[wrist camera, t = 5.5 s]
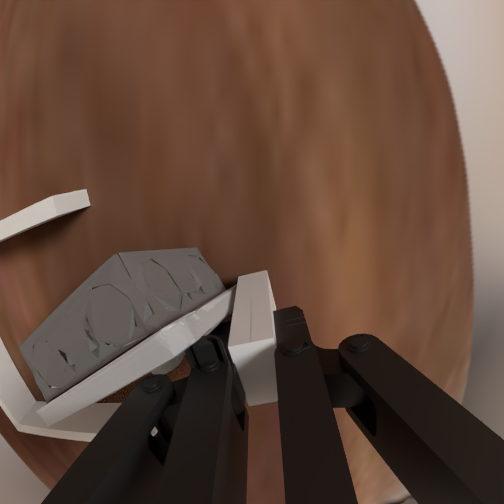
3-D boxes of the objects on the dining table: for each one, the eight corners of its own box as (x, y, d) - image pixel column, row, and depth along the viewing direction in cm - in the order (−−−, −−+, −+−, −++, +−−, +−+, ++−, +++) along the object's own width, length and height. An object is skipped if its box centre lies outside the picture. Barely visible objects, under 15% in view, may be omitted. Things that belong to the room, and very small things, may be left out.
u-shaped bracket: (-40, 248, 17) (-68, 260, 14) (86, 189, 16) (52, 195, 13) (35, 408, 21) (18, 431, 18) (171, 410, 20) (161, 444, 17)
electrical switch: (137, 364, 19) (69, 456, 10) (89, 302, 18) (-6, 367, 9) (251, 291, 18) (230, 389, 8) (196, 216, 17) (116, 243, 8)
